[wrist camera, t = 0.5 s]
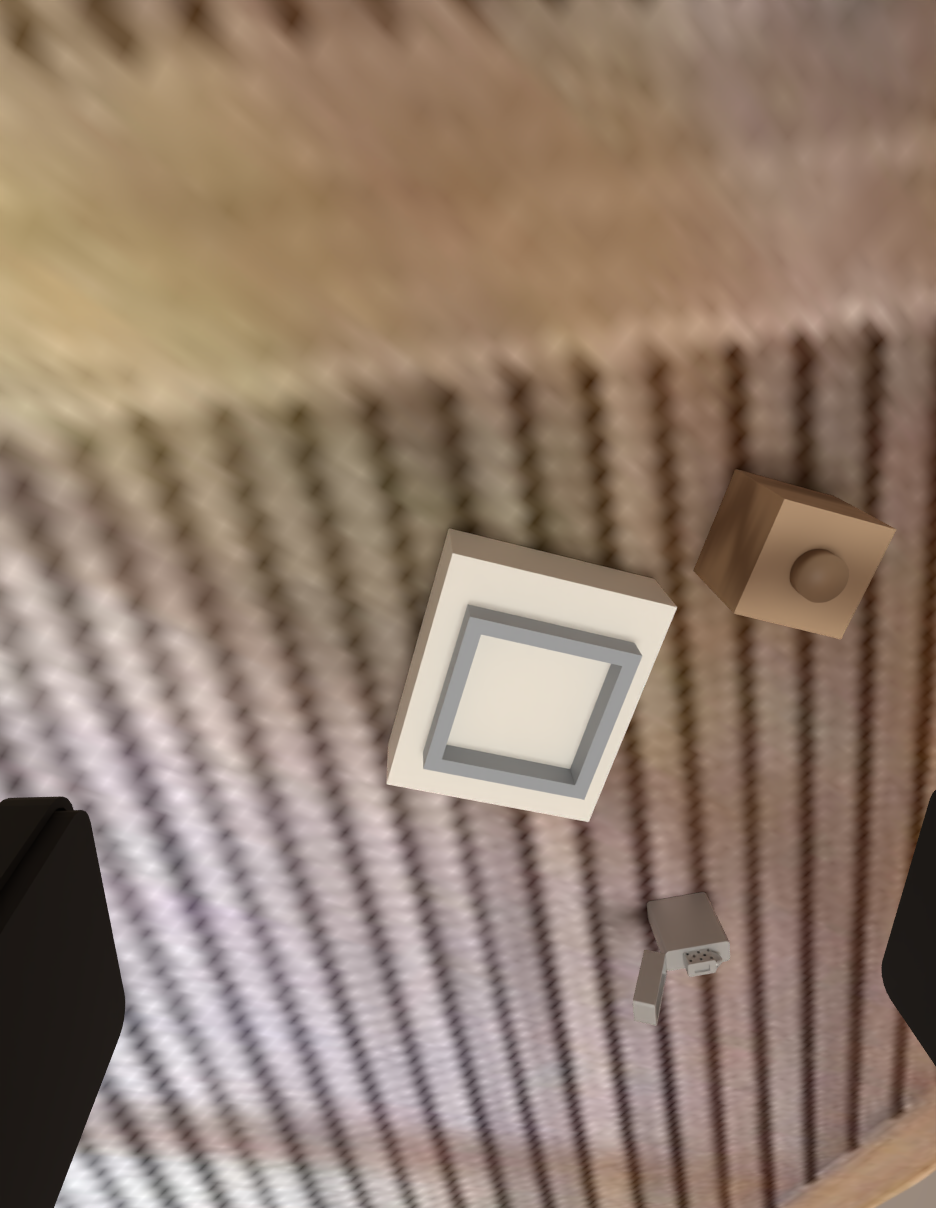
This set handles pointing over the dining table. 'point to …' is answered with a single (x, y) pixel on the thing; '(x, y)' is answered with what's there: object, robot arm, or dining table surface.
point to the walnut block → (791, 554)
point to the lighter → (678, 948)
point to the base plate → (524, 677)
